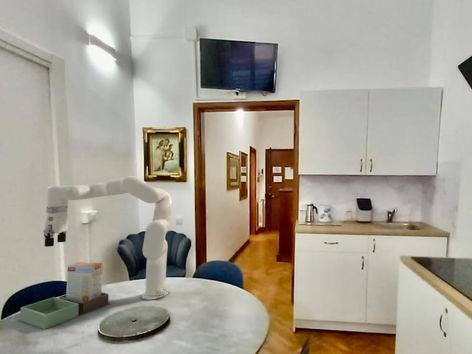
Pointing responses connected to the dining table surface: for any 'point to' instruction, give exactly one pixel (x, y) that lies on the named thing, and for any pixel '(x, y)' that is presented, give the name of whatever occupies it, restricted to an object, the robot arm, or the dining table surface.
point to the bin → (49, 312)
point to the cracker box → (84, 281)
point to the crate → (89, 303)
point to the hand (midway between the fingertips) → (55, 244)
